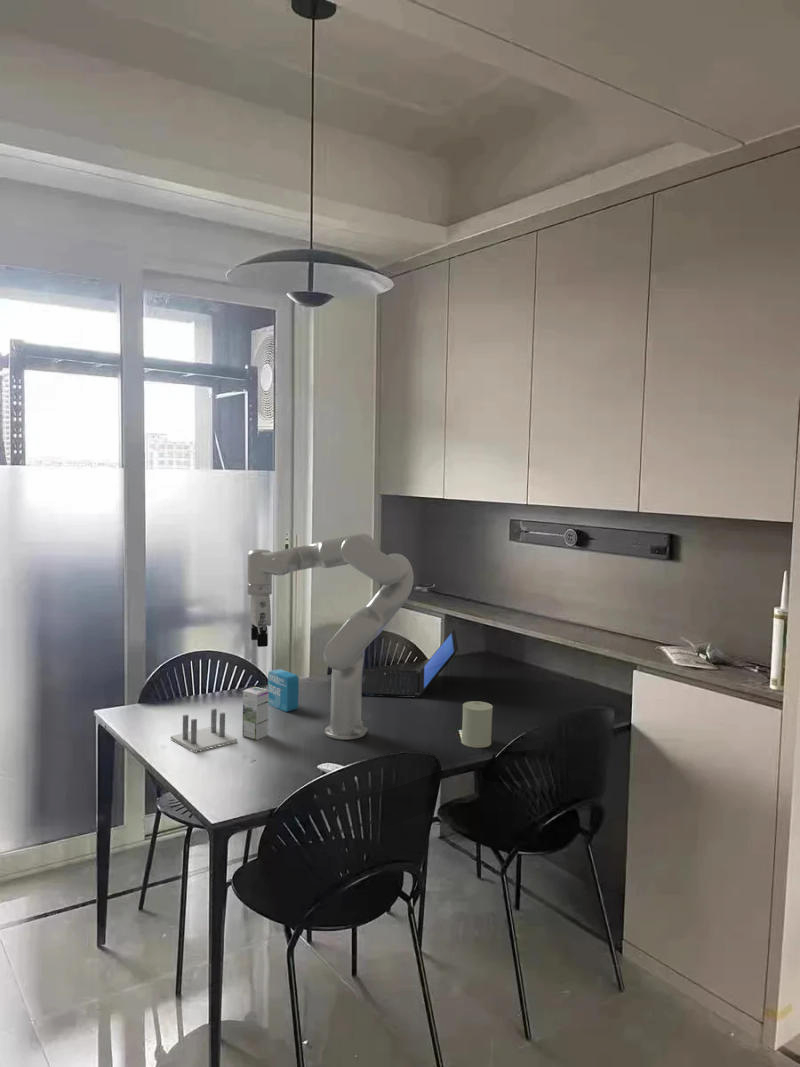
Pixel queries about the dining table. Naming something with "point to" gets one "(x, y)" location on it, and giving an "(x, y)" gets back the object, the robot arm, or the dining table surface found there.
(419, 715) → the dining table surface
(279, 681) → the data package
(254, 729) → the syrup box
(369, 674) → the laptop
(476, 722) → the can
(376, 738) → the dining table surface
